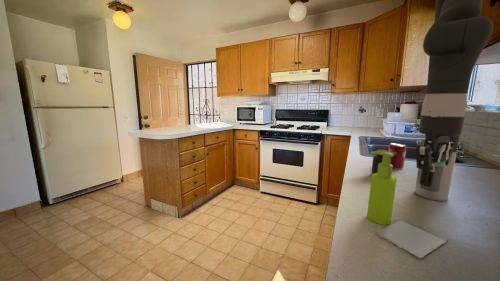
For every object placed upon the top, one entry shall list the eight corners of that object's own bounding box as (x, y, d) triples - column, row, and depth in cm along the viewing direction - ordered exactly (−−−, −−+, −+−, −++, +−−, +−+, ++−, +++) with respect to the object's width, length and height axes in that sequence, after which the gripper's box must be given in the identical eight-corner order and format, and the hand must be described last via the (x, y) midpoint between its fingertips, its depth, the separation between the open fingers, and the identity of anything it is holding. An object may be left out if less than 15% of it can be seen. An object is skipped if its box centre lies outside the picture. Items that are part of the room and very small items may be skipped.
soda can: (389, 168, 107) (392, 145, 105) (384, 164, 114) (387, 142, 112) (405, 169, 105) (409, 146, 103) (400, 165, 112) (403, 143, 110)
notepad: (402, 221, 60) (403, 219, 60) (447, 241, 52) (448, 239, 51) (375, 234, 54) (375, 231, 54) (420, 259, 46) (421, 257, 45)
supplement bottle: (391, 177, 95) (395, 151, 93) (381, 179, 92) (384, 152, 90) (377, 172, 101) (380, 148, 99) (367, 174, 99) (370, 149, 96)
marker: (423, 184, 54) (428, 158, 53) (442, 189, 51) (448, 162, 50) (415, 186, 53) (420, 160, 51) (435, 193, 49) (440, 164, 48)
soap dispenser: (365, 210, 66) (372, 148, 62) (391, 218, 62) (401, 152, 58) (361, 218, 61) (368, 152, 58) (389, 227, 57) (399, 156, 53)
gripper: (436, 112, 55) (425, 175, 58) (407, 113, 49) (397, 183, 52) (476, 114, 49) (462, 184, 52) (449, 116, 42) (434, 195, 45)
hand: (429, 183), depth 52 cm, fingers closed on marker, 3 cm apart
